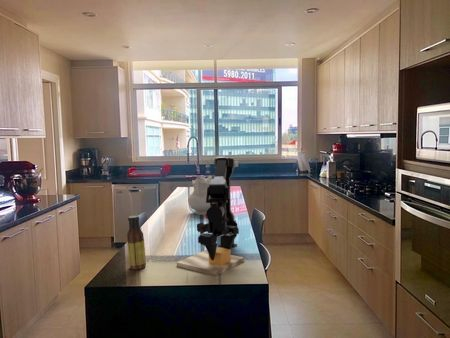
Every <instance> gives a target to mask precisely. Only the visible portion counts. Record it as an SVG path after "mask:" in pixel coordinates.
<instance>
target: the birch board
mask: <svg viewBox="0 0 450 338" xmlns="http://www.w3.org/2000/svg"><path fill="white" fill-rule="evenodd" d="M244 262H245V258H244V257H243V256H237V255H233V254H231V261H230V262H228V263H226V264H224V265H222V266H221V265H217V264H212V263H209V254H208V251H207V249H205V250H203V251H200V252H198V253H195V254H194V255H193V254H192V255H190V256H188V257H186V258H183V259H181V260H178V261H177V262H176V267H179V268H184V269H188V270H192V271H195V272H200V273H204V274H207V275H211V276H218V275H219V276H220V275H221V274H222V273H224V272H226V271H228V270H230V269H232V268H234V267H236V266H238V265H240V264H241V263H244Z"/></svg>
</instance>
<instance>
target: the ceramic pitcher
mask: <svg viewBox="0 0 450 338" xmlns="http://www.w3.org/2000/svg"><path fill="white" fill-rule="evenodd" d="M212 179H213V176H212V175H208V176H207V178H206V177H205V176H201V175H200V176H198V177H196V178H195V180H194V179H192V181H191V183H192V186H193V191H192V192H191V193H190V194H189V196H188V198H187V202H188V206H189V208H191V209H192V210H193V211H195V212H194V214H196V215H197V216H198V215H200V216H201V215H203V216H205V215H206V213H207V210H208V209H209V207H210V203H206V197H207V187H208V186H209V184H210V181H211V180H212ZM209 199H210V196H209Z"/></svg>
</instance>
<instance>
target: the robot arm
mask: <svg viewBox="0 0 450 338" xmlns="http://www.w3.org/2000/svg"><path fill="white" fill-rule="evenodd" d="M235 162H236V160H235V159H234V158H232V157H227V156H217V157H216V158H214V163H213V164H214V165H213V166H214V169H215V170H214V176H213V178H212V180H211V181H210V184H209V186H208V187H207V197H206V203H210V207H209V209H208V210H207V213H206V219H208V220H207V221H208V222H207V223H203V222H200V223H197V224H196V231H197V233H200V235H198V237H197V243H198V244H200V245H201V246H204V247H205V250H207V251H208V254H209V256H210V259H211V260H214V258H215V253H216V248H217V247H220V248H226V249H232V248H235V247H236V246H238V243H235V239H236V238H237V237H238V236H237V235H238V234H239V233H240V232H239V231H240V230H239V226H238V223H237V221H236V220H235V214H234V213H233V212H232V207H231V203H232V202H231V201H232V200H231V199H232V198H231V177H232V175H233V173H234V169H235V168H236V163H235ZM209 196H210V199H209ZM218 238H219V245H218V243H217V241H218Z"/></svg>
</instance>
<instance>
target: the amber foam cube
mask: <svg viewBox="0 0 450 338" xmlns="http://www.w3.org/2000/svg"><path fill="white" fill-rule="evenodd" d="M231 249H232V248H230V249H226V248H221V247H218V246H217V248H216V253H215V258H214V260H211V259H210V256H209V263H212V264H217V265H221V266H222V265H224V264H226V263H228V262H230V261H231V255H232V253H231V252H232V251H231Z"/></svg>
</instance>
